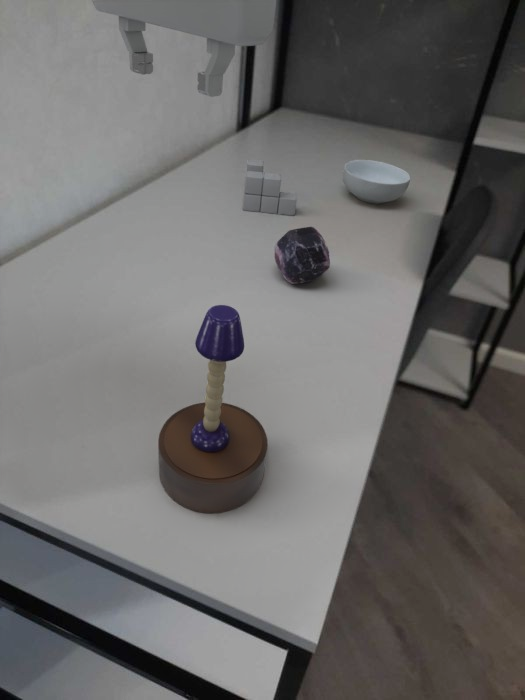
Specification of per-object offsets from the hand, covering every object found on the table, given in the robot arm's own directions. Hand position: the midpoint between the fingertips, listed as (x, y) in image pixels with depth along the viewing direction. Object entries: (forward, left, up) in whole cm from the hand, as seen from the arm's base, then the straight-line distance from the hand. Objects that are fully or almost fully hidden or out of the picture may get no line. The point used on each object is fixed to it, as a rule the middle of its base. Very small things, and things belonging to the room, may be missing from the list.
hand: (174, 83), depth 50 cm
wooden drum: (-8, -15, -37) cm, 41 cm away
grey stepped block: (+59, +31, -37) cm, 76 cm away
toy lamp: (-8, -15, -32) cm, 36 cm away
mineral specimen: (+36, +5, -37) cm, 52 cm away
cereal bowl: (+84, +17, -37) cm, 93 cm away
